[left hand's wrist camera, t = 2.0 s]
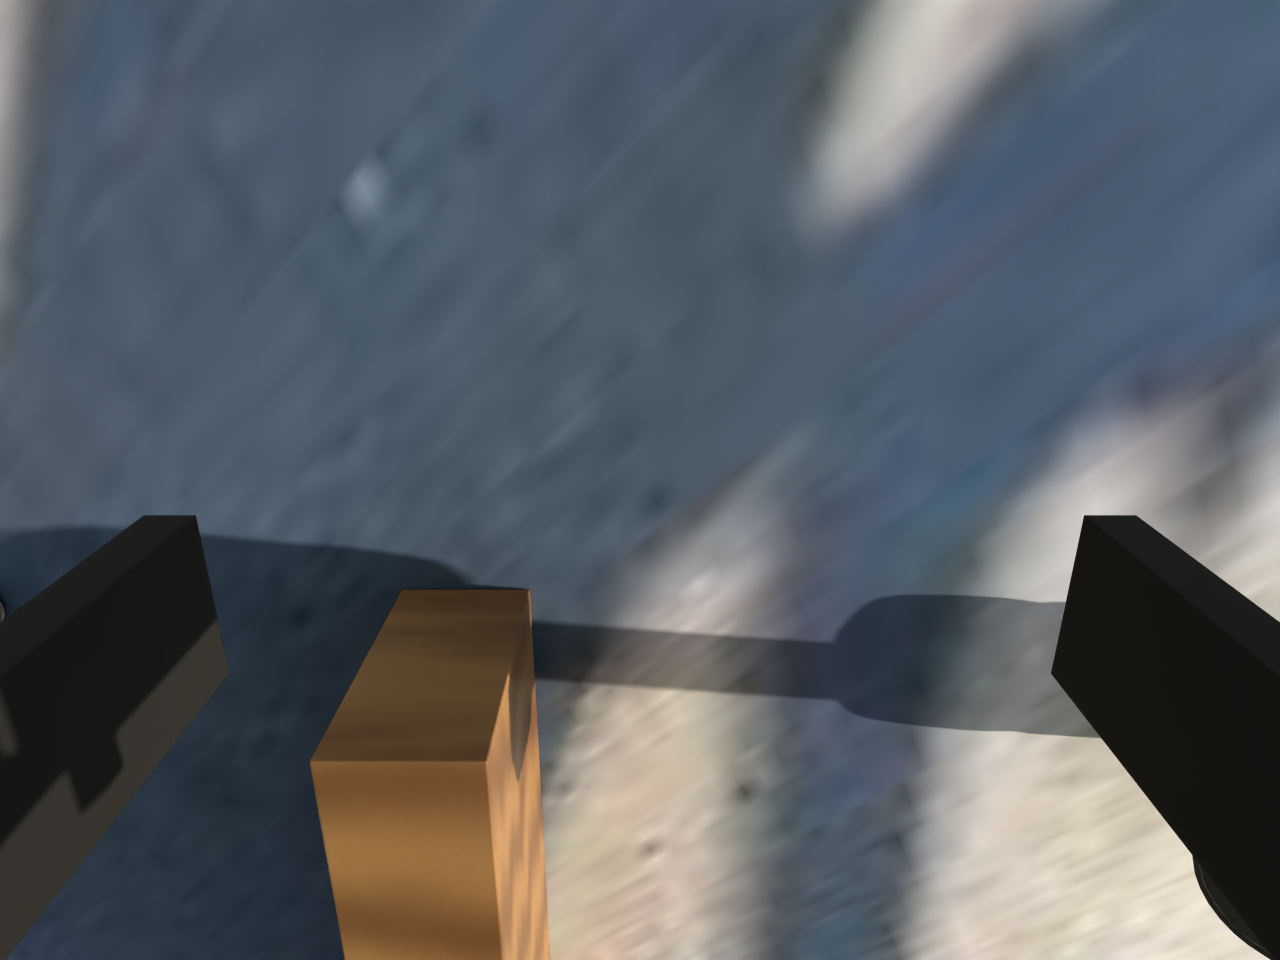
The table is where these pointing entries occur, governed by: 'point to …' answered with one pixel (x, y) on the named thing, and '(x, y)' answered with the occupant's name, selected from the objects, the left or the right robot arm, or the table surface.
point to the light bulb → (1, 613)
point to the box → (438, 786)
